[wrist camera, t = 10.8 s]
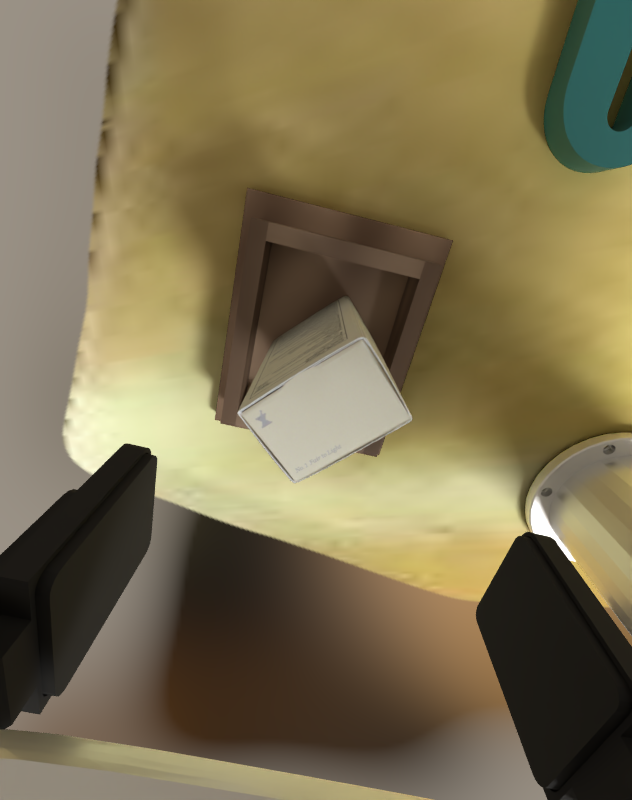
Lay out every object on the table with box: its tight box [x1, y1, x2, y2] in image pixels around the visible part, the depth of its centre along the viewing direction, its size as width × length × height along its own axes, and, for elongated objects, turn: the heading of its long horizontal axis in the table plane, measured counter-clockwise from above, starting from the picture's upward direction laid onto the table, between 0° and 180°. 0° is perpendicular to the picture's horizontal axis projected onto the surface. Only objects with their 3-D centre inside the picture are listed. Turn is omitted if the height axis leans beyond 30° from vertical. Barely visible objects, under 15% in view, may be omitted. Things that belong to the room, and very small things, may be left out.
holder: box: [215, 188, 453, 457], centre depth 26 cm, size 13×16×4 cm
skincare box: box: [237, 296, 412, 483], centre depth 21 cm, size 6×4×12 cm
